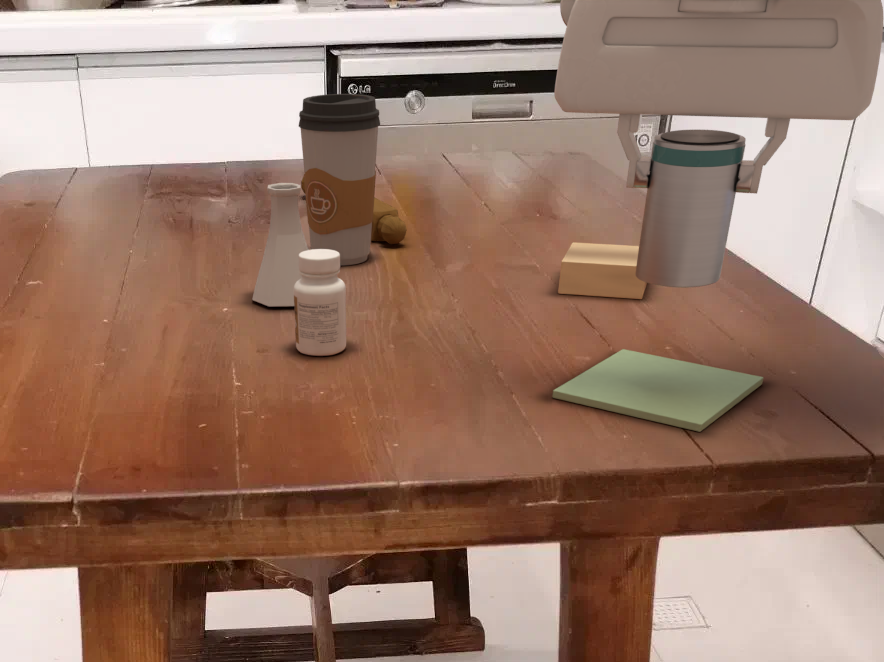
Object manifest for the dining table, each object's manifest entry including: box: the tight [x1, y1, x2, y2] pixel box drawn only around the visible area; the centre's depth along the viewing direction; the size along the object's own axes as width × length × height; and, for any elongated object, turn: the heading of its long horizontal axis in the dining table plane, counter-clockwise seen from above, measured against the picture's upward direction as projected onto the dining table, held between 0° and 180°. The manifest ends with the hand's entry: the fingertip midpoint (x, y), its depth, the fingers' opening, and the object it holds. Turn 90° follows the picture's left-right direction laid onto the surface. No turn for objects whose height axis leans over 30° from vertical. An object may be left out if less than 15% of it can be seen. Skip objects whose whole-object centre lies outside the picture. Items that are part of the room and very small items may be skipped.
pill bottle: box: [293, 249, 347, 357], centre depth 93 cm, size 4×4×8 cm
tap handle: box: [300, 175, 407, 245], centre depth 132 cm, size 3×3×30 cm
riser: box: [557, 241, 648, 300], centre depth 108 cm, size 8×8×3 cm
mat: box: [551, 348, 764, 433], centre depth 85 cm, size 12×12×1 cm
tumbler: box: [635, 129, 747, 289], centre depth 78 cm, size 9×6×6 cm
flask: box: [252, 182, 310, 307], centre depth 104 cm, size 7×7×10 cm
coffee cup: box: [298, 93, 381, 266], centre depth 114 cm, size 8×8×15 cm
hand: (691, 189), depth 77 cm, fingers closed on tumbler, 6 cm apart
